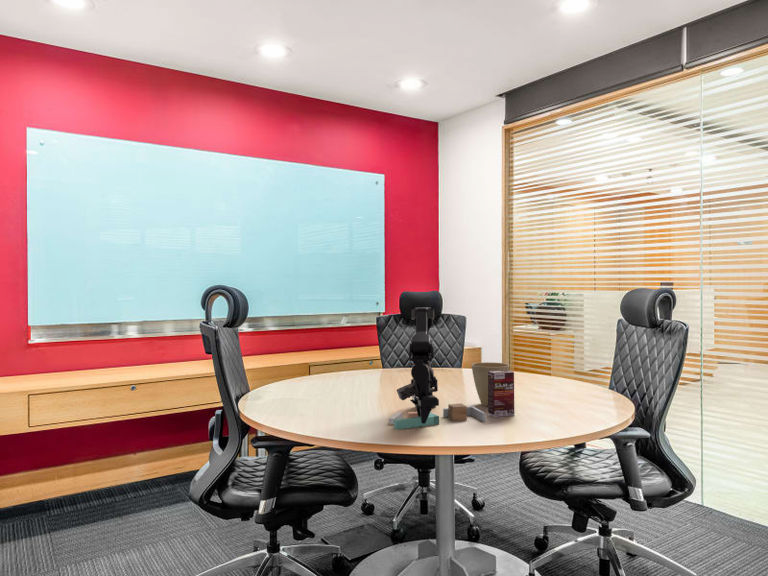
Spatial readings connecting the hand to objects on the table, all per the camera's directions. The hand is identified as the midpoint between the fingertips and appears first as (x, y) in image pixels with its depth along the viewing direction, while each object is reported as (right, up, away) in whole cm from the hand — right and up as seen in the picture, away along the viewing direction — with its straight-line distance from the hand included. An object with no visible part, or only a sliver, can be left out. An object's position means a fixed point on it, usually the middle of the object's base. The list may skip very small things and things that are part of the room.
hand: (422, 422), depth 184 cm
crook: (-3, -1, +2) cm, 4 cm away
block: (+13, -1, +8) cm, 15 cm away
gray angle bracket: (+15, -1, +8) cm, 17 cm away
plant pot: (+30, -1, +31) cm, 43 cm away
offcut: (-2, -1, +9) cm, 10 cm away
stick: (-9, -2, +7) cm, 11 cm away
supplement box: (+30, -1, +13) cm, 32 cm away
